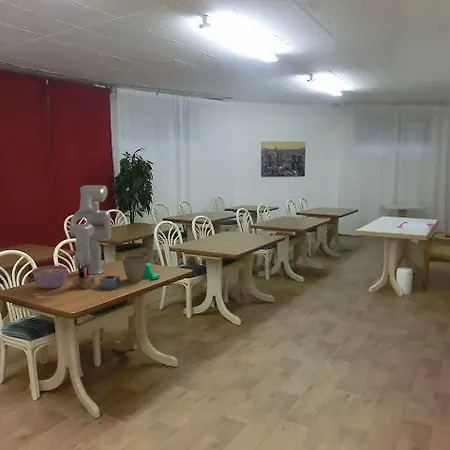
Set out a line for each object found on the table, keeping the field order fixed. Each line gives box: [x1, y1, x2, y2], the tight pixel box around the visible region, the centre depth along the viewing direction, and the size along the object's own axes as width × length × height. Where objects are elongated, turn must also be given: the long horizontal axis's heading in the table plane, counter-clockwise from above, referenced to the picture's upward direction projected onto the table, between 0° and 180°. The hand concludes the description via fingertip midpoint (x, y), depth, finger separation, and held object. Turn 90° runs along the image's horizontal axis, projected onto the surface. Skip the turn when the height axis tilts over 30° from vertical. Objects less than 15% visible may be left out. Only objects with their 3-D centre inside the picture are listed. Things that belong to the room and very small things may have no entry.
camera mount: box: [142, 262, 161, 280], centre depth 306 cm, size 12×8×10 cm, turn 55°
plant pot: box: [122, 254, 147, 283], centre depth 296 cm, size 15×15×16 cm
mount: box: [72, 275, 96, 290], centre depth 281 cm, size 10×9×5 cm
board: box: [70, 283, 123, 291], centre depth 281 cm, size 28×12×1 cm, turn 86°
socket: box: [99, 274, 121, 289], centre depth 280 cm, size 9×9×6 cm
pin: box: [81, 266, 87, 279], centre depth 281 cm, size 3×3×12 cm
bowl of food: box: [31, 265, 68, 290], centre depth 281 cm, size 20×20×12 cm
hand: (83, 276), depth 280 cm, fingers open, 3 cm apart
